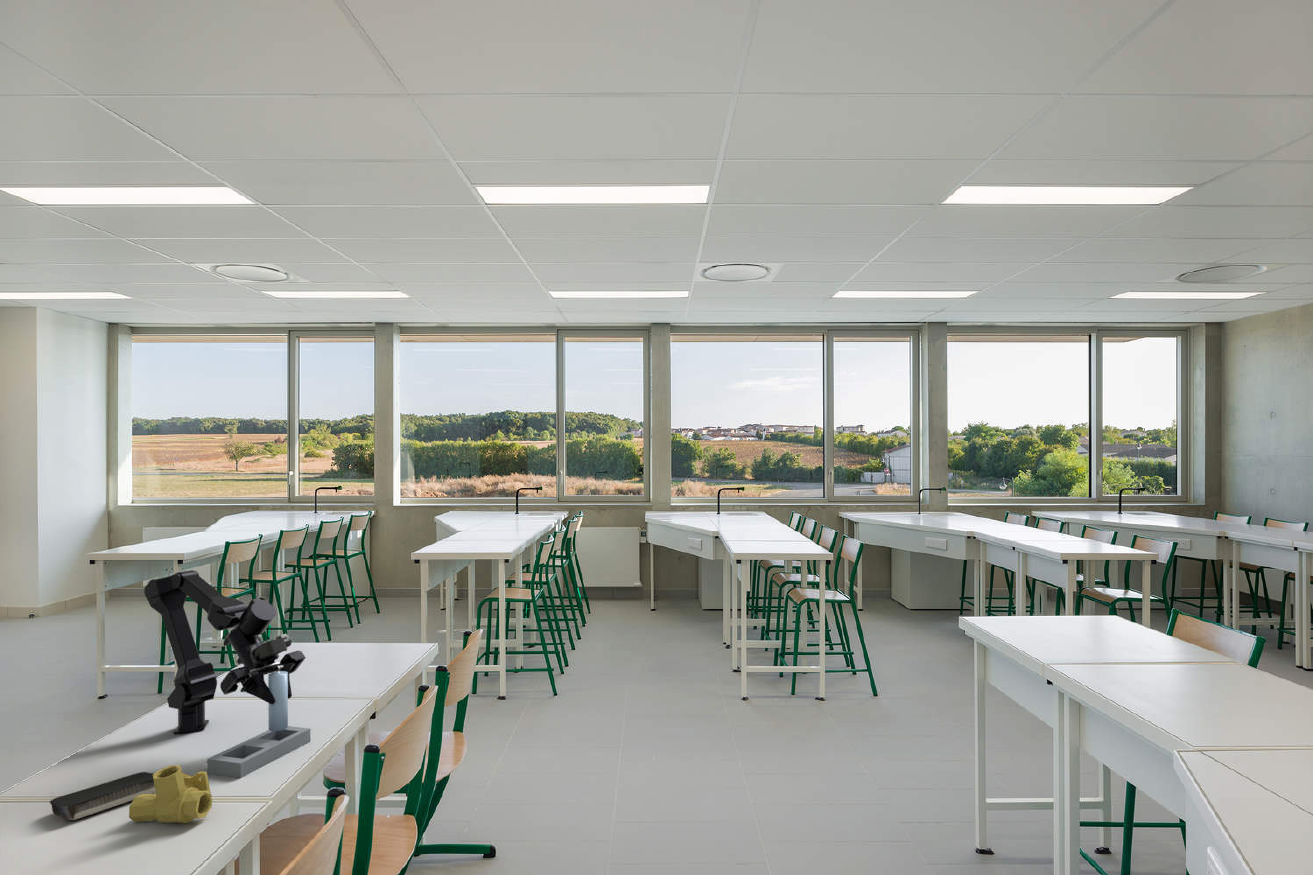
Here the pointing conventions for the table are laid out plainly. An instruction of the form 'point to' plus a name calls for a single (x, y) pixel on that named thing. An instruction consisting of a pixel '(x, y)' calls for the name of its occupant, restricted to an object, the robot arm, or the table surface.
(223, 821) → the table surface
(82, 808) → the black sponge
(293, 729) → the panel
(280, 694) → the plug
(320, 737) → the table surface
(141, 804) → the ball valve
